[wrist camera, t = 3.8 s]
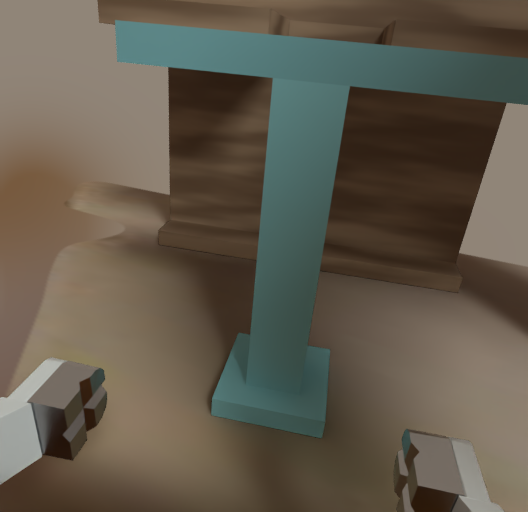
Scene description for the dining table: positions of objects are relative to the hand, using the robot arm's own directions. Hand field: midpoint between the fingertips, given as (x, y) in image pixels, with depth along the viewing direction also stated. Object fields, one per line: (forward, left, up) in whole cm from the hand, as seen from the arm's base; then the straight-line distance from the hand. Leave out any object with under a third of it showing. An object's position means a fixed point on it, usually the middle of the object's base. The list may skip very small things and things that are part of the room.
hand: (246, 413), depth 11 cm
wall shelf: (-19, -16, -9) cm, 27 cm away
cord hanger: (-8, -7, -9) cm, 14 cm away
